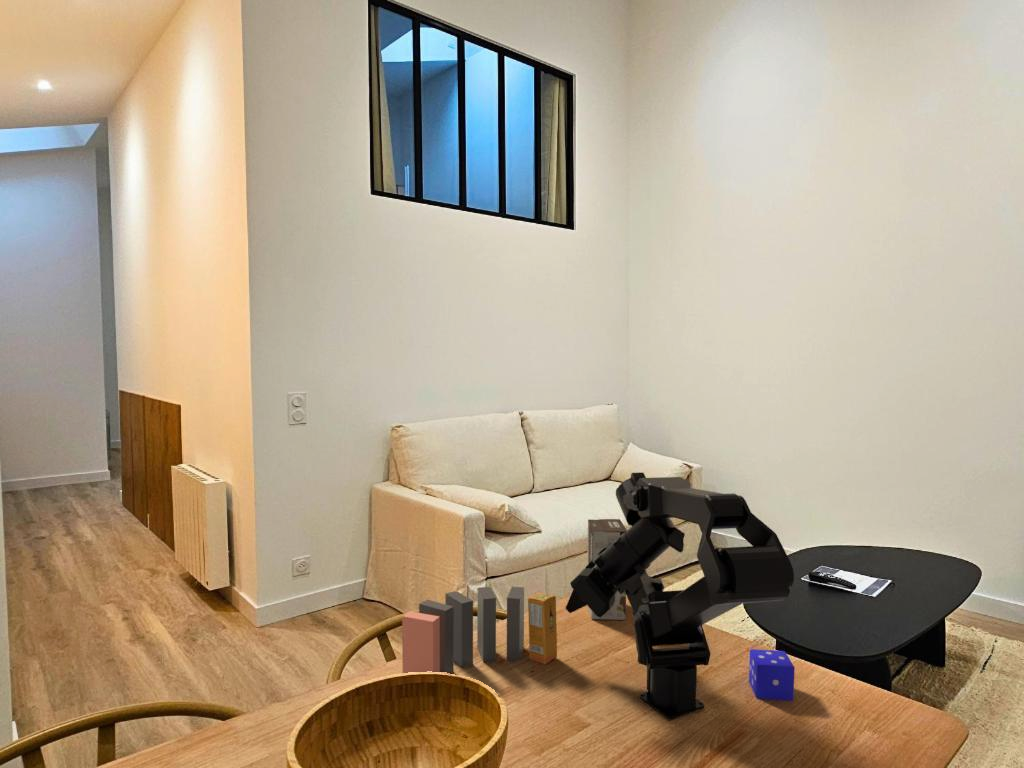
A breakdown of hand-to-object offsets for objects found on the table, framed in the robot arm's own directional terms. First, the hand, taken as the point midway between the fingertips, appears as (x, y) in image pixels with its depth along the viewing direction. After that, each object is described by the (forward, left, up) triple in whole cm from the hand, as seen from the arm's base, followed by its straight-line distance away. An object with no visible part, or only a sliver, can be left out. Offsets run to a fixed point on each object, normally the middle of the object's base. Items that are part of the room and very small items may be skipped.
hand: (568, 610), depth 107 cm
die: (-21, -20, -8) cm, 31 cm away
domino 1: (+4, +23, -8) cm, 24 cm away
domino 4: (+8, +10, -8) cm, 15 cm away
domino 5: (+6, +6, -8) cm, 12 cm away
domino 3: (+9, +15, -8) cm, 19 cm away
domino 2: (+7, +19, -8) cm, 22 cm away
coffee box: (+14, -17, -8) cm, 24 cm away
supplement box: (+3, +3, -8) cm, 9 cm away
